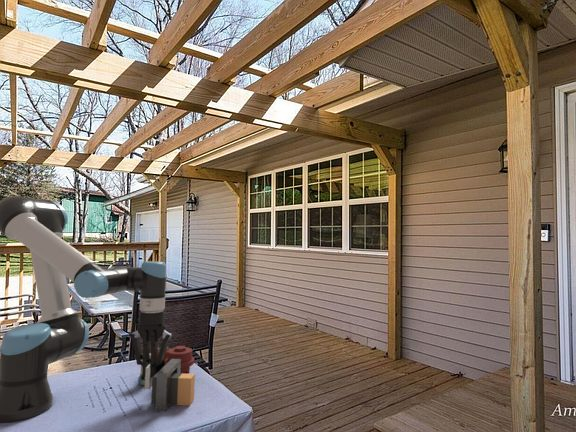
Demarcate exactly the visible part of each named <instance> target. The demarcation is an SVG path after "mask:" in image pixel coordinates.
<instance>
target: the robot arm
mask: <svg viewBox="0 0 576 432" xmlns="http://www.w3.org/2000/svg"><path fill="white" fill-rule="evenodd" d="M68 220H69V219H68V213H67V211H66V209H65V208H64V206H63V205H61V204H60V203H58V202H56V201H53V200H50V199H46V198H45V199H44V198H43V199H42V198H41V199H40V198H35V197H34V198H33V197H28V196H27V197H26V196H20V195H14V196H13V195H12V196H8V197H4V198H2V199H1V200H0V233H1V234H2V235H4V237H6V238H7V239H9V240H13V241H18V242H19V243H21V244H22V245H24V247H26V248H27V249H28V250H29V252H30V257H31V262H32V268H33V273H34V274H33V275H34V280H35V285H36V291H37V296H38V297H37V298H38V304H39V309H40V313H41V314H40V315H41V316H40V318H39V319H38V321H36V323H30V324H23V325H20V326H16V327H13V328H12V329H10V330H8V331H6V332H5V333H4V334H3V336H2V340H1V344H0V423H9V422H18V421H22V420H26V419H30V418H33V417H35V416H38V415H41V414H43V413H44V412H46V411H48V410H49V409H50V408H51V407H52V406H53V401H54V397H53V393H52V390H51V386H50V384H49V380H48V372H49V365H50V364H53V363H56V362H58V361H60V360H63V359H65V358H69V357H70V358H71V357H72V356H74V355H75V354H77V353H79V352H80V351H82V350H83V349H84V348H85V346H86V345H87V343H88V341H89V337H90V328H89V326H88V323H87V322H86V321H85V320H84V319H82V318H80V317H79V314H78V313H79V312H78V311H77V310H75V309H73V307H72V303H71V297H70V294H69V287H68V282H67V279H69V280H70V281H71V282H73V287H74V290H75V292H76V294H77V295H78V296H80V297H81V298H84V299H91V298H99V297H102V296H107V295H111V294H115V293H121V292H126V291H127V292H139V311H140V312H139V313H138V315H139V317H138V327H136V328H137V330H136V331H133V332H132V333H129V338H130V339H131V342H132V345H133V351H134V357H135V361H136V362H135V363H136V364H137V365H138V366H141V365H142V366H143V375H142V376H143V377H145V385H144V390H150V389H152V377H153V376H155V375H156V366H157V365H160V364H161V363H162V362H163V359H164V355H165V352H166V348H167V347H168V344H169V341H170V339H171V338H172V336H173V333H172V332H169V331H167V330H166V327H165V314H166V313H165V311H164V310H165V308H166V284H167V283H166V282H167V277H168V276H167V264H166V263H165V262H164V261H143V262H142V263H141V266H140V267H134V266H133V267H129V266H110V267H108V268H102V267H101V266H99V264H98V263H97V264H96V263H95V262H94V261H92V260H91V259H90V258H89V257H88V256H86V255H84V254H83V253H82V252H80V251H79V250H78V249H76V248H75V247H74V246H72V245H71V244H69V243H68V242H67V241H65V240H64V239H62V237H63V236H64V233H63V231H64V230H65V229H66V227H67V226H66V225H67V224H68ZM161 337H162V339H163V340H162V342H161V345H160V347H159V341H160V338H161ZM140 338H141V339H140ZM141 340H142V342H141ZM141 343H142V344H141ZM158 347H159V348H160V351H159V355H158V358H157V354H158ZM150 351H151V361H150V362H149V358H150ZM149 363H150V365H149Z"/></svg>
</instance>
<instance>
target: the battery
mask: <svg viewBox="0 0 576 432" xmlns="http://www.w3.org/2000/svg"><path fill="white" fill-rule="evenodd" d="M160 348H161V347H159V346H158V354H157V358H158V355H159V351H160ZM170 349H172V348H169V346H167V348H166V352H165V355H164V359H163V362H162V363H161V364H160V365H157V366H156V374H157V372H158V371H160V370H161V369H162V368H163V367H164V366H165V360H166V359H167V358H168V350H170ZM150 353H151V350H150Z"/></svg>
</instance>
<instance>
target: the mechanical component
mask: <svg viewBox="0 0 576 432" xmlns="http://www.w3.org/2000/svg"><path fill="white" fill-rule="evenodd" d="M171 359H181V372H180V373H184V374H190V370H191V368H190V367H192V366H193V365H194V364H195V357H194V356H193V349H192V348H191V347H186V346H185V345H177V346H174V347H173V348H171V349H170V350H168V358H167V359H166V360H165V365H166V364H167V363H168V362H169V361H170V360H171Z"/></svg>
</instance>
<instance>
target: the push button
mask: <svg viewBox="0 0 576 432" xmlns="http://www.w3.org/2000/svg"><path fill="white" fill-rule="evenodd" d="M150 361H151V353H150V358H149V362H150ZM149 365H150V363H149ZM142 375H143V366H142V365H140V374H139V376H138V378H137V385H139V386H141V385H142V386H145V377H143V376H142Z"/></svg>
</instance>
